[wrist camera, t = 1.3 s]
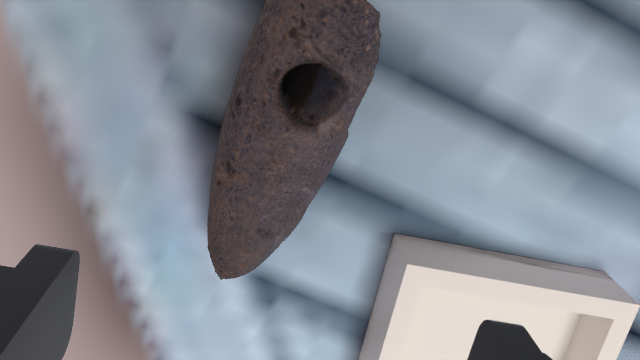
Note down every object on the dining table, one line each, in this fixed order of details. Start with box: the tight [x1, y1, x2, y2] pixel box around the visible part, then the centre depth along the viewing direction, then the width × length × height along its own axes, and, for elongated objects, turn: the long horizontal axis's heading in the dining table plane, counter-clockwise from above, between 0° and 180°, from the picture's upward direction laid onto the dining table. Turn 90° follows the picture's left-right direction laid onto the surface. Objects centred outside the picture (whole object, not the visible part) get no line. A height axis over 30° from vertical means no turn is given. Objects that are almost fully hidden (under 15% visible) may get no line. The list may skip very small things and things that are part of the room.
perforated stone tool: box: [207, 0, 381, 280], centre depth 26 cm, size 15×5×7 cm, turn 157°
